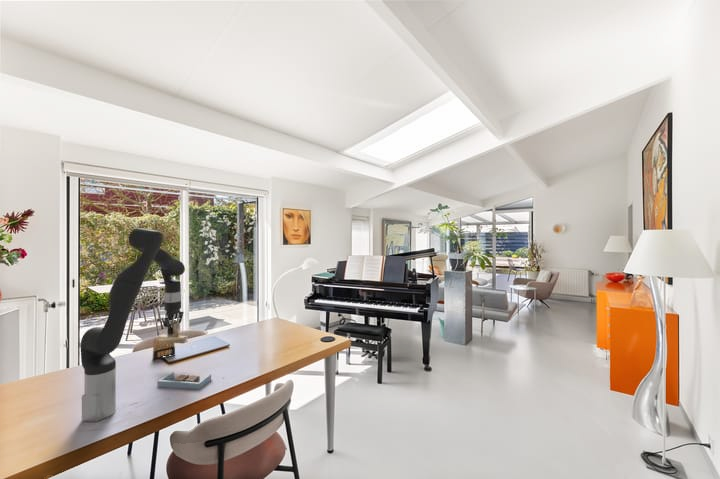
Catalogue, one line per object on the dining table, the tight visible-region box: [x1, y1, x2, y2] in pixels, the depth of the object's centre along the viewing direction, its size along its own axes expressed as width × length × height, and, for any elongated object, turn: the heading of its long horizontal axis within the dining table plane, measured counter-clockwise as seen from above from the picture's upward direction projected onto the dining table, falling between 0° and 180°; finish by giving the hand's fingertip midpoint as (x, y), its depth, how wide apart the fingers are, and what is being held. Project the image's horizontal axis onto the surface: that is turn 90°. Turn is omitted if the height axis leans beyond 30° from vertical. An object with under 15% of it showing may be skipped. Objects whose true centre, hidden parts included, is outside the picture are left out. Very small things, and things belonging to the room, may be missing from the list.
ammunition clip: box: [152, 336, 176, 361], centre depth 175 cm, size 11×2×12 cm, turn 139°
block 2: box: [184, 374, 201, 382], centre depth 146 cm, size 5×4×2 cm
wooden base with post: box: [158, 322, 188, 344], centre depth 163 cm, size 3×14×10 cm, turn 83°
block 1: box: [173, 374, 190, 382], centre depth 146 cm, size 5×4×2 cm
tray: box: [157, 371, 212, 390], centre depth 146 cm, size 10×20×2 cm, turn 84°
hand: (172, 333), depth 163 cm, fingers closed on wooden base with post, 3 cm apart
